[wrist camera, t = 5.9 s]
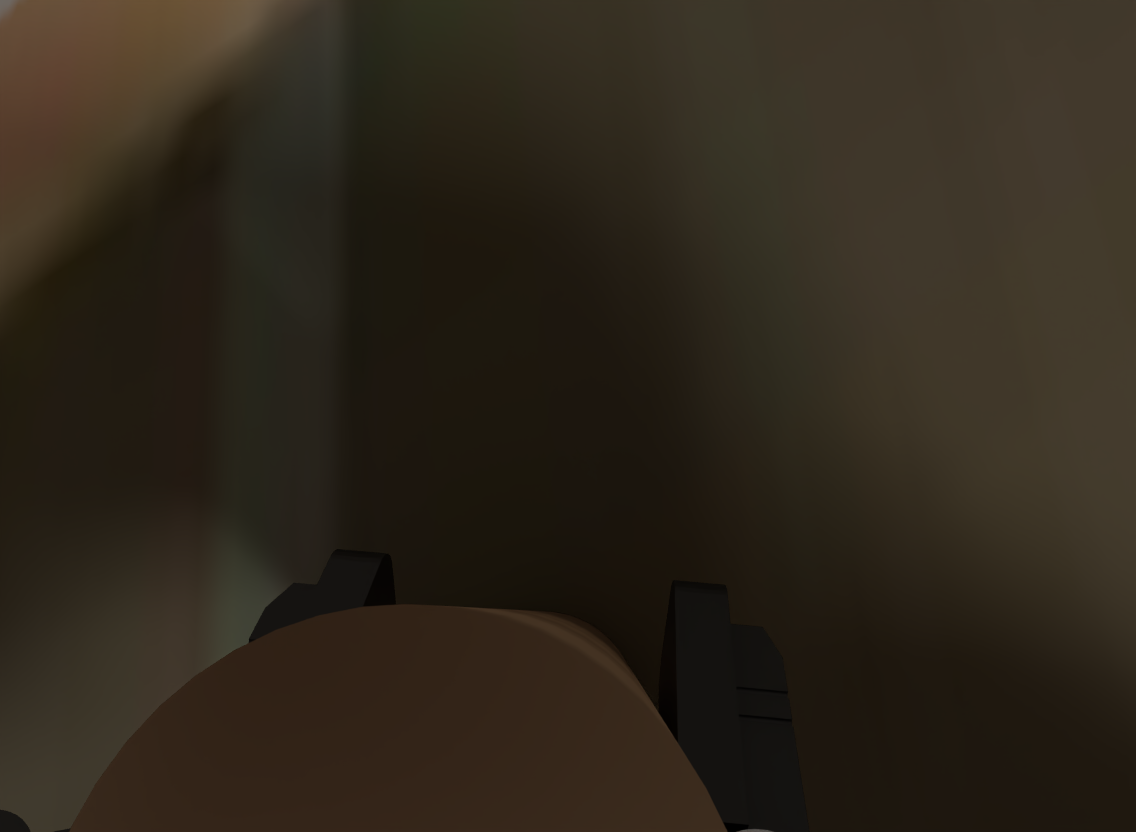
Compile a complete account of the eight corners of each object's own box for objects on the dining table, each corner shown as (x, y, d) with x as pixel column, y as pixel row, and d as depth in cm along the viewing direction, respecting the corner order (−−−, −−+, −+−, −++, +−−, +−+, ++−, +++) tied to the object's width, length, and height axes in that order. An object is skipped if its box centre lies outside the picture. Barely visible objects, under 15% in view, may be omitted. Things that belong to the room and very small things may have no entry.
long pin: (578, 576, 19) (531, 480, 5) (674, 746, 18) (912, 1151, 4) (414, 672, 19) (-82, 831, 5) (505, 849, 18) (210, 1622, 4)
